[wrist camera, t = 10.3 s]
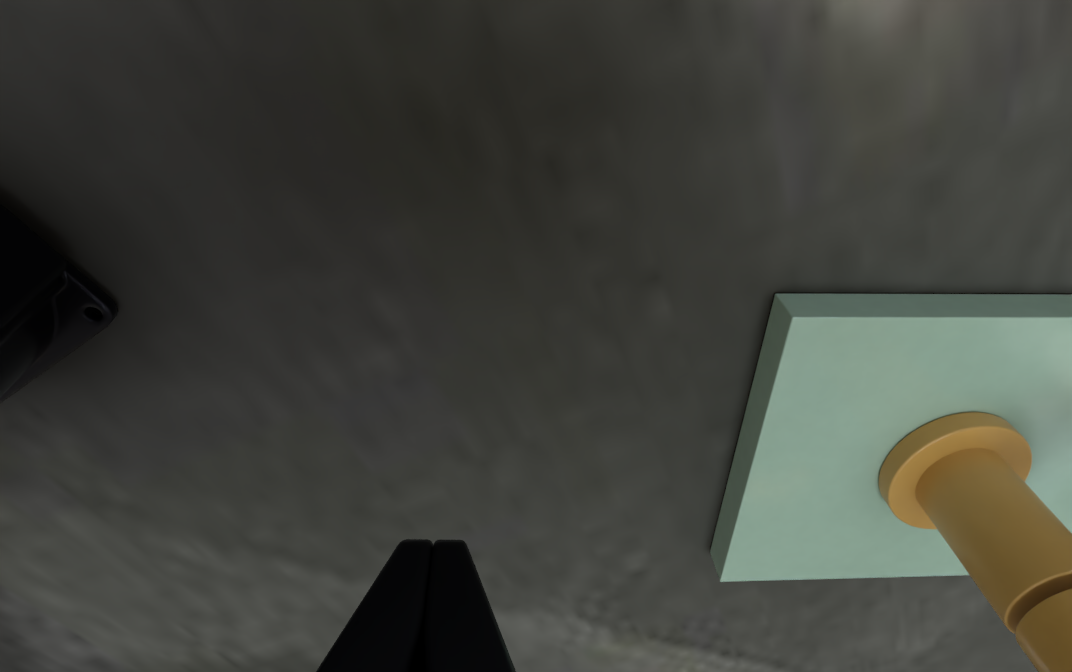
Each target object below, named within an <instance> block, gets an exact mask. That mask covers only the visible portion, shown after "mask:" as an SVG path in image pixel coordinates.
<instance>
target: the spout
mask: <svg viewBox="0 0 1072 672" xmlns="http://www.w3.org/2000/svg"><path fill="white" fill-rule="evenodd" d="M1015 634H1016V640H1017V642H1018V644H1019V645H1020V647H1021V648H1022V650H1023V651H1024V652H1025V654H1026V655H1027V657H1028V658H1029V659H1030V661H1031V662H1032V664H1033V665H1034V667H1035V668H1036V669H1037V671H1038V672H1072V589H1068V590H1066V591H1063V592H1060V593H1058V594H1055V595H1053V596H1051V597H1049V598H1047V599H1045V600H1044V601H1042V602H1040V603H1039V604H1037V605H1036V606H1035V607H1033V608H1032V609H1031V610H1030V611H1028V612H1027V613H1026V614H1025V615H1024V617H1023V618H1022V619H1021V620H1020V622H1019V624H1018V626H1017V628H1016V633H1015Z"/></svg>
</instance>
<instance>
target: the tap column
mask: <svg viewBox="0 0 1072 672" xmlns="http://www.w3.org/2000/svg"><path fill="white" fill-rule="evenodd" d="M1031 465H1032V453H1031V449H1030V446H1029V444H1028V442H1027V441H1026V440H1025V438H1024V437H1023V436H1022V435H1021V434H1020V433H1019V432H1018V431H1017V430H1016V429H1015V428H1014V427H1013V426H1012V425H1011V424H1010V423H1008V422H1007V421H1006V420H1004V419H1002V418H1000V417H998V416H995V415H992V414H988V413H981V412H965V413H958V414H953V415H949V416H945V417H942V418H939V419H936V420H934V421H931V422H929V423H927V424H925V425H923V426H921V427H919V428H918V429H916V430H915V431H913V432H911V433H910V434H909V435H907V436H906V437H905V438H904V439H902V440H901V441H900V442H899V443H898V444H897V445H896V446H895V447H894V448H893V449H892V451H891V452H890V453H889V455H888V456H887V457H886V459H885V461H884V463H883V465H882V467H881V470H880V474H879V489H880V493H881V495H882V497H883V499H884V500H885V502H886V503H887V505H888V506H889V508H890V509H891V511H892V512H893V514H894V515H895V516H896V517H897V518H898V519H900V520H901V521H903V522H904V523H906V524H908V525H910V526H914V527H917V528H922V529H937V530H938V531H939V532H940V534H941V535H942V537H943V538H944V539H945V541H946V542H947V544H948V545H949V547H950V548H951V549H952V551H953V552H954V554H955V555H956V556H957V558H958V559H959V561H960V562H961V563H962V565H963V566H964V568H965V569H966V571H967V572H968V573H969V575H970V576H971V578H972V579H973V580H974V582H975V583H976V585H977V586H978V587H979V589H980V590H981V592H982V593H983V595H984V596H985V597H986V599H987V600H988V602H989V603H990V604H991V606H992V607H993V609H994V610H995V612H996V613H997V614H998V616H999V617H1000V619H1001V620H1002V621H1003V623H1004V624H1005V626H1006V627H1007V628H1008V629H1009V630H1010V631H1011V632H1013V633H1014V634H1015V633H1016V628H1017V626H1018V624H1019V622H1020V620H1021V619H1022V618H1023V617H1024V615H1025V614H1026V613H1027V612H1028V611H1030V610H1031V609H1032V608H1033V607H1035V606H1036V605H1037V604H1039V603H1040V602H1042V601H1044V600H1045V599H1047V598H1049V597H1051V596H1053V595H1055V594H1058V593H1060V592H1063V591H1066V590H1068V589H1072V533H1071V532H1070V531H1069V530H1068V529H1067V528H1066V527H1065V526H1064V525H1063V523H1062V522H1061V521H1060V520H1059V519H1058V518H1057V517H1056V516H1055V515H1054V514H1053V512H1052V511H1051V510H1050V509H1049V508H1048V507H1047V506H1046V505H1045V504H1044V503H1043V502H1042V500H1041V499H1040V498H1039V497H1038V496H1037V495H1036V494H1035V493H1034V492H1033V491H1032V489H1031V488H1030V487H1029V486H1028V485H1027V484H1026V483H1025V481H1026V479H1027V477H1028V475H1029V472H1030V470H1031Z"/></svg>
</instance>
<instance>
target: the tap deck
mask: <svg viewBox="0 0 1072 672" xmlns="http://www.w3.org/2000/svg"><path fill="white" fill-rule="evenodd" d="M965 412H981V413H988V414H992V415H995V416H998V417H1000V418H1002V419H1004V420H1006V421H1007V422H1008V423H1010V424H1011V425H1012V426H1013V427H1014V428H1015V429H1016V430H1017V431H1018V432H1019V433H1020V434H1021V435H1022V436H1023V437H1024V438H1025V440H1026V441H1027V442H1028V444H1029V446H1030V449H1031V453H1032V465H1031V470H1030V472H1029V475H1028V477H1027V479H1026V481H1025V483H1026V484H1027V485H1028V486H1029V487H1030V488H1031V489H1032V491H1033V492H1034V493H1035V494H1036V495H1037V496H1038V497H1039V498H1040V499H1041V500H1042V502H1043V503H1044V504H1045V505H1046V506H1047V507H1048V508H1049V509H1050V510H1051V511H1052V512H1053V514H1054V515H1055V516H1056V517H1057V518H1058V519H1059V520H1060V521H1061V522H1062V523H1063V525H1064V526H1065V527H1066V528H1067V529H1068V530H1069V531H1070V532H1071V533H1072V294H787V293H776V294H775V296H774V300H773V304H772V308H771V312H770V316H769V320H768V324H767V328H766V332H765V336H764V340H763V344H762V348H761V352H760V356H759V360H758V364H757V367H756V371H755V375H754V379H753V383H752V387H751V391H750V395H749V399H748V403H747V407H746V411H745V415H744V419H743V423H742V427H741V431H740V435H739V439H738V443H737V447H736V451H735V455H734V458H733V462H732V466H731V470H730V474H729V478H728V482H727V486H726V490H725V494H724V498H723V502H722V506H721V510H720V514H719V518H718V522H717V526H716V530H715V534H714V538H713V542H712V546H711V549H710V553H711V556H712V559H713V562H714V565H715V568H716V571H717V574H718V577H719V580H720V582H729V581H768V580H806V579H844V578H882V577H921V576H959V575H969V573H968V572H967V571H966V569H965V568H964V566H963V565H962V563H961V562H960V561H959V559H958V558H957V556H956V555H955V554H954V552H953V551H952V549H951V548H950V547H949V545H948V544H947V542H946V541H945V539H944V538H943V537H942V535H941V534H940V532H939V531H938V530H937V529H922V528H917V527H914V526H910V525H908V524H906V523H904V522H903V521H901V520H900V519H898V518H897V517H896V516H895V515H894V514H893V512H892V511H891V509H890V508H889V506H888V505H887V503H886V502H885V500H884V499H883V497H882V495H881V493H880V489H879V474H880V470H881V467H882V465H883V463H884V461H885V459H886V457H887V456H888V455H889V453H890V452H891V451H892V449H893V448H894V447H895V446H896V445H897V444H898V443H899V442H900V441H901V440H902V439H904V438H905V437H906V436H907V435H909V434H910V433H911V432H913V431H915V430H916V429H918V428H919V427H921V426H923V425H925V424H927V423H929V422H931V421H934V420H936V419H939V418H942V417H945V416H949V415H953V414H958V413H965Z"/></svg>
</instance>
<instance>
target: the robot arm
mask: <svg viewBox="0 0 1072 672" xmlns="http://www.w3.org/2000/svg"><path fill="white" fill-rule="evenodd" d="M91 307H95V308H97V309H99V310H100V311H101V313H102V315H100V314H97V313H95V312H94V311H93V310H92V309H91ZM117 313H118V309H117V306H116V304H115V303H114V301H113V300H112V299H111V298H110V297H109V296H107V295H106V294H105V293H104V292H103V291H102V290H100V289H99V288H98V287H97V286H96V285H95V284H93V283H92V282H91V281H90V280H89V279H88V278H86V277H85V276H84V275H83V274H82V273H81V272H79V271H78V270H77V269H76V268H75V267H74V266H72V265H71V264H70V263H69V262H68V261H67V260H65V259H64V258H63V257H62V256H61V255H59V254H58V253H57V252H56V251H55V250H54V249H52V248H51V247H50V246H49V245H48V244H47V243H45V242H44V241H43V240H42V239H41V238H40V237H38V236H37V235H36V234H35V233H34V232H33V231H31V230H30V229H29V228H28V227H27V226H26V225H24V224H23V223H22V222H21V221H20V220H19V219H17V218H16V217H15V216H14V215H13V214H12V213H10V212H9V211H8V210H7V209H6V208H5V207H3V206H2V205H1V204H0V403H1V402H3V401H4V400H5V399H7V398H8V397H9V396H11V395H12V394H14V393H15V392H16V391H18V390H19V389H21V388H22V387H23V386H25V385H26V384H28V383H29V382H30V381H32V380H33V379H35V378H36V377H37V376H39V375H40V374H42V373H43V372H44V371H46V370H47V369H49V368H50V367H51V366H53V365H54V364H56V363H57V362H58V361H60V360H61V359H63V358H64V357H65V356H67V355H68V354H70V353H71V352H72V351H74V350H75V349H77V348H78V347H79V346H81V345H82V344H84V343H85V342H86V341H88V340H89V339H91V338H92V337H93V336H95V335H96V334H98V333H99V332H100V331H102V330H103V329H105V328H106V327H107V326H108V325H109V324H110V323H111V322H112V321H113V320H114V319H115V317H116V316H117ZM316 672H516V671H515V668H514V666H513V663H512V661H511V658H510V656H509V653H508V650H507V648H506V645H505V643H504V640H503V637H502V635H501V632H500V630H499V627H498V624H497V622H496V619H495V617H494V614H493V612H492V609H491V606H490V604H489V601H488V599H487V596H486V593H485V591H484V588H483V586H482V583H481V580H480V578H479V575H478V573H477V570H476V568H475V565H474V562H473V560H472V557H471V555H470V552H469V549H468V547H467V545H466V543H465V542H464V541H462V540H437V541H435V543H434V545H433V543H432V542H431V541H430V540H422V539H406V540H403V541H401V542H400V543H399V544H398V546H397V547H396V549H395V550H394V552H393V553H392V555H391V557H390V558H389V560H388V561H387V563H386V564H385V566H384V567H383V569H382V571H381V572H380V574H379V575H378V577H377V578H376V580H375V581H374V583H373V584H372V586H371V588H370V589H369V591H368V592H367V594H366V595H365V597H364V598H363V600H362V601H361V603H360V605H359V606H358V608H357V609H356V611H355V612H354V614H353V615H352V617H351V618H350V620H349V622H348V623H347V625H346V626H345V628H344V629H343V631H342V632H341V634H340V636H339V637H338V639H337V640H336V642H335V643H334V645H333V646H332V648H331V649H330V651H329V653H328V654H327V656H326V657H325V659H324V660H323V662H322V663H321V665H320V666H319V668H318V670H317V671H316Z"/></svg>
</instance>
